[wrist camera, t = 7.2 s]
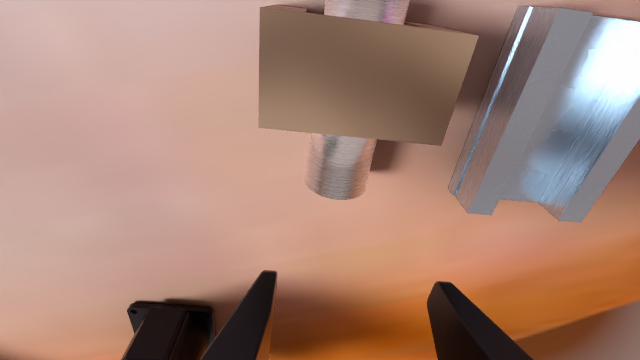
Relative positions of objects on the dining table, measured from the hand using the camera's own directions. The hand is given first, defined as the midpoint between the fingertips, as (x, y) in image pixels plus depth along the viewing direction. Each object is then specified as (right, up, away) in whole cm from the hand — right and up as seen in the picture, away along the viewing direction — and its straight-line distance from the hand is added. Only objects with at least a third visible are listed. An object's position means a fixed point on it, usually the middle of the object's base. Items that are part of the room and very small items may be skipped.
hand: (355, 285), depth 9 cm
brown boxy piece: (0, +9, +6) cm, 11 cm away
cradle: (+11, +7, +8) cm, 15 cm away
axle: (0, +8, +7) cm, 11 cm away
